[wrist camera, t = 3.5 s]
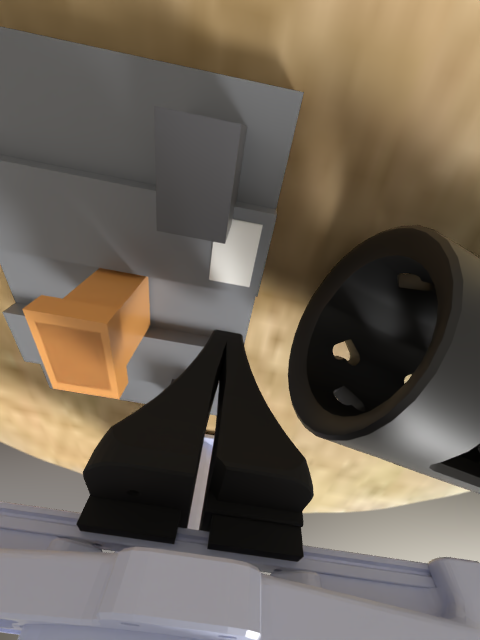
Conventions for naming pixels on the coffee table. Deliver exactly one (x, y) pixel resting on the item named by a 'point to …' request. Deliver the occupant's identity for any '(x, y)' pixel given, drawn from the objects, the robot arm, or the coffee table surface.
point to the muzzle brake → (396, 355)
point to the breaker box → (138, 190)
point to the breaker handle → (91, 332)
